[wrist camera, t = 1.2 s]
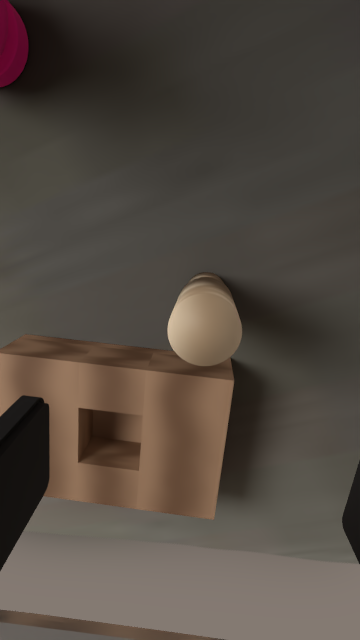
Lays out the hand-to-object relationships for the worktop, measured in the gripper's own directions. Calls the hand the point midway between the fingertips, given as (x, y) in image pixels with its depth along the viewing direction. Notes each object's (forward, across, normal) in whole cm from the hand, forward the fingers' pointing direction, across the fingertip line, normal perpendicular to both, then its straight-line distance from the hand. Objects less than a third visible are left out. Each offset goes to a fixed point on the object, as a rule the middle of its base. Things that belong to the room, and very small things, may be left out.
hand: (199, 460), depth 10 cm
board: (+22, +6, +12) cm, 26 cm away
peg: (+22, 0, -1) cm, 22 cm away
